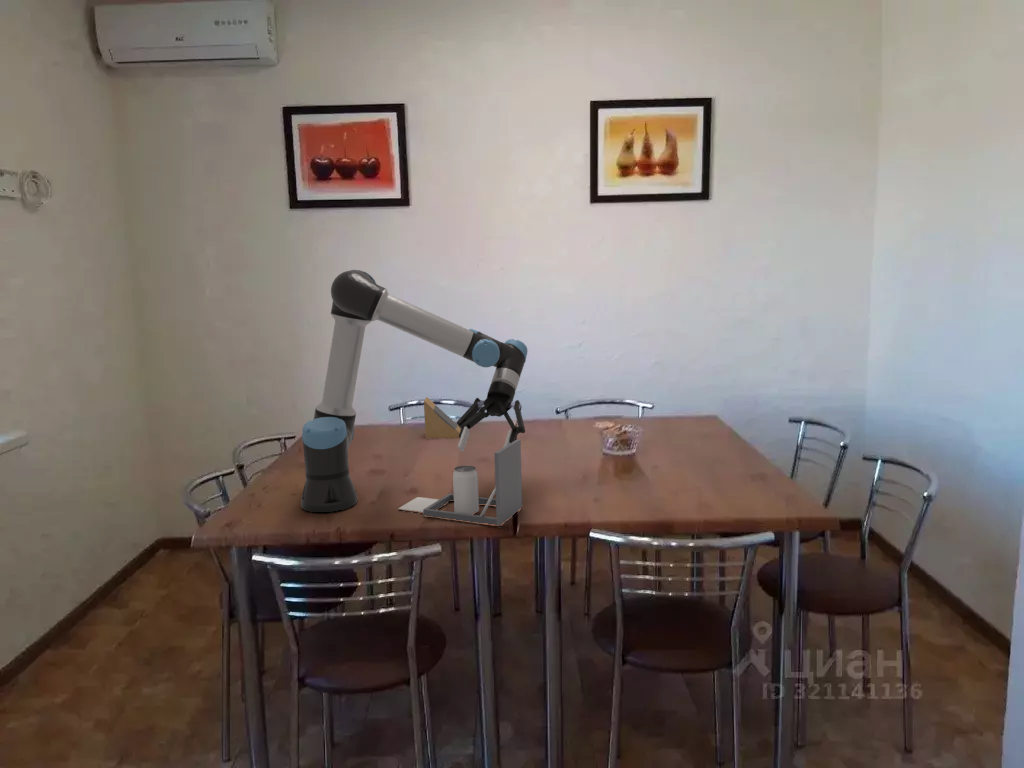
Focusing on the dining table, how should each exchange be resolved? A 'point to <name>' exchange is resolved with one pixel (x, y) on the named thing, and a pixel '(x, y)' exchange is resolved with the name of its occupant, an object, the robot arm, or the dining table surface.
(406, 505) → the pad
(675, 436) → the dining table surface
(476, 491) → the can
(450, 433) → the sandwich container
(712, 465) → the dining table surface
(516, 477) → the grey frame and panel
